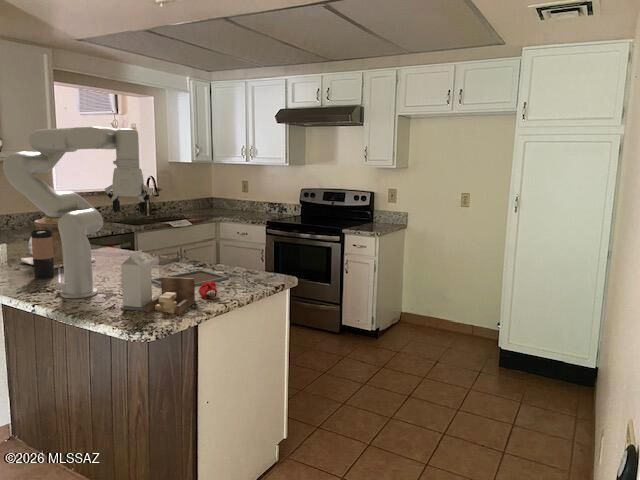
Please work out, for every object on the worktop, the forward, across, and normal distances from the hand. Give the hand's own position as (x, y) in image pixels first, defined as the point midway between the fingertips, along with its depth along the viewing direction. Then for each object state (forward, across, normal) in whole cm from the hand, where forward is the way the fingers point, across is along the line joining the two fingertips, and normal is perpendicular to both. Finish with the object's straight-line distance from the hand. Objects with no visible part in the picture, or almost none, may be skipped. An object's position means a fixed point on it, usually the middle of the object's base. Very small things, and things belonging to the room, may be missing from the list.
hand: (129, 212), depth 175 cm
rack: (+32, +18, -8) cm, 38 cm away
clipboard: (+33, +10, +29) cm, 45 cm away
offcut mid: (+31, +18, -11) cm, 37 cm away
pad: (+32, +6, -8) cm, 34 cm away
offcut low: (+33, +18, -11) cm, 39 cm away
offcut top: (+29, +18, -11) cm, 35 cm away
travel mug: (+32, -50, +23) cm, 64 cm away
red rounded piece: (+33, +26, +8) cm, 42 cm away
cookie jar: (+33, -62, +51) cm, 86 cm away
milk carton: (+32, +6, -8) cm, 33 cm away
